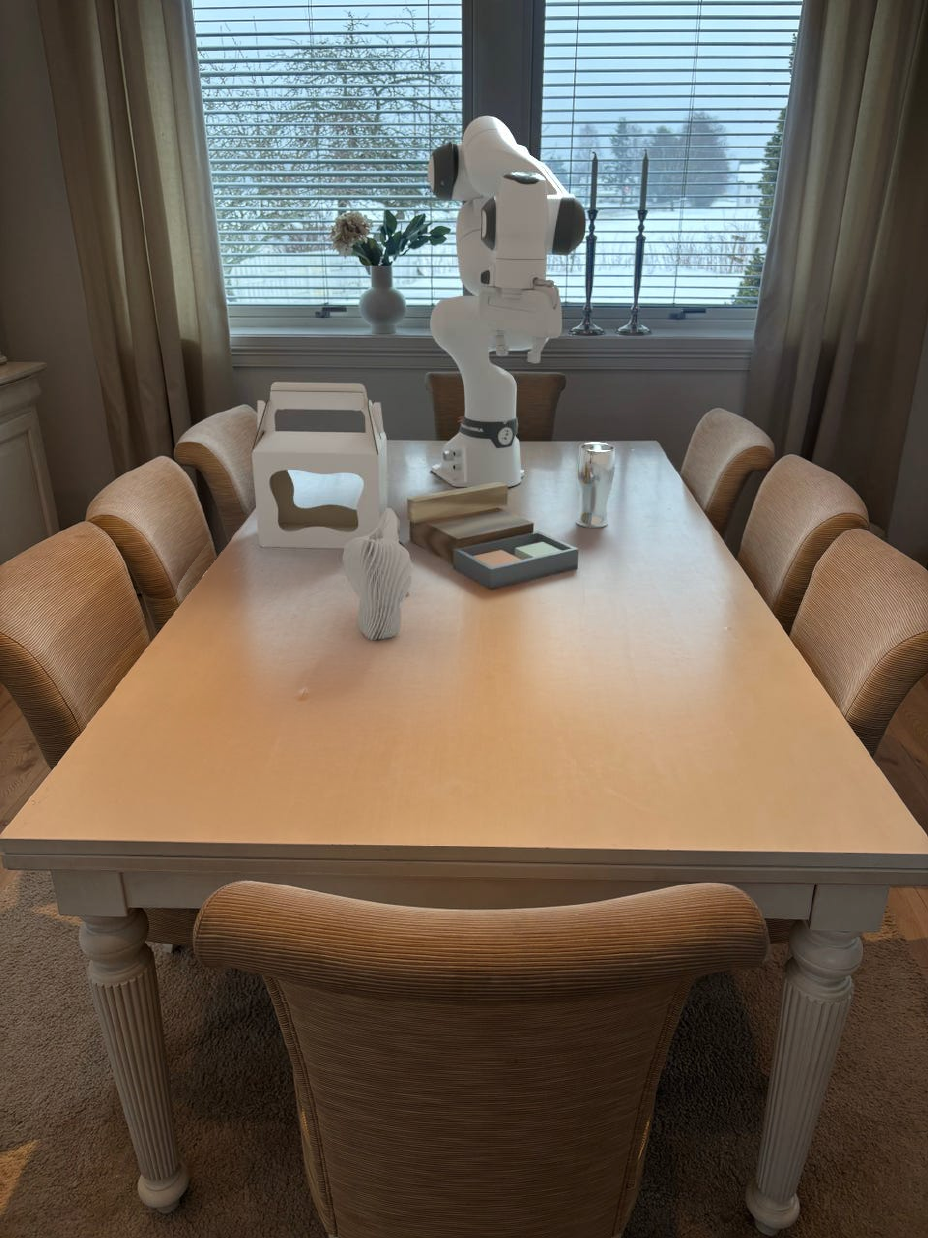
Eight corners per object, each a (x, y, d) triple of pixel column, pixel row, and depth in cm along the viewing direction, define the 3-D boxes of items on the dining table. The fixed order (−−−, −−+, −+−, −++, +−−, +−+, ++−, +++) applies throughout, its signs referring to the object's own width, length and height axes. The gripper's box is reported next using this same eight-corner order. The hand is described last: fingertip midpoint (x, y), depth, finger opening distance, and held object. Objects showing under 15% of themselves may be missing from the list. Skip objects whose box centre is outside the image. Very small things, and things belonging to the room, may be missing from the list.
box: (453, 568, 157) (453, 549, 156) (538, 549, 166) (538, 530, 165) (490, 589, 149) (491, 569, 147) (577, 568, 158) (578, 548, 156)
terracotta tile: (492, 567, 150) (492, 578, 151) (522, 560, 153) (522, 571, 154) (472, 556, 155) (472, 567, 156) (501, 549, 158) (501, 560, 159)
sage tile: (536, 558, 154) (536, 569, 155) (564, 551, 157) (564, 562, 158) (514, 547, 159) (514, 558, 159) (542, 541, 162) (542, 552, 162)
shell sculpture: (365, 652, 128) (360, 528, 120) (343, 629, 134) (338, 510, 127) (419, 641, 131) (418, 519, 124) (396, 619, 138) (393, 502, 131)
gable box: (258, 547, 166) (244, 388, 154) (273, 524, 178) (262, 374, 166) (382, 550, 165) (377, 390, 154) (389, 526, 177) (386, 376, 166)
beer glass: (609, 518, 183) (615, 442, 177) (610, 529, 177) (616, 451, 171) (573, 516, 184) (578, 441, 177) (574, 528, 177) (578, 450, 171)
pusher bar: (407, 519, 165) (407, 498, 163) (499, 502, 175) (500, 481, 173) (414, 523, 163) (414, 501, 161) (507, 505, 173) (507, 484, 171)
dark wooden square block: (409, 540, 170) (409, 513, 168) (481, 525, 178) (482, 500, 176) (457, 566, 158) (457, 539, 156) (532, 549, 166) (533, 523, 164)
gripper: (573, 280, 154) (568, 365, 159) (501, 272, 169) (499, 350, 175) (543, 281, 150) (539, 368, 156) (472, 273, 166) (471, 352, 172)
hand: (517, 358), depth 166 cm, fingers open, 8 cm apart
